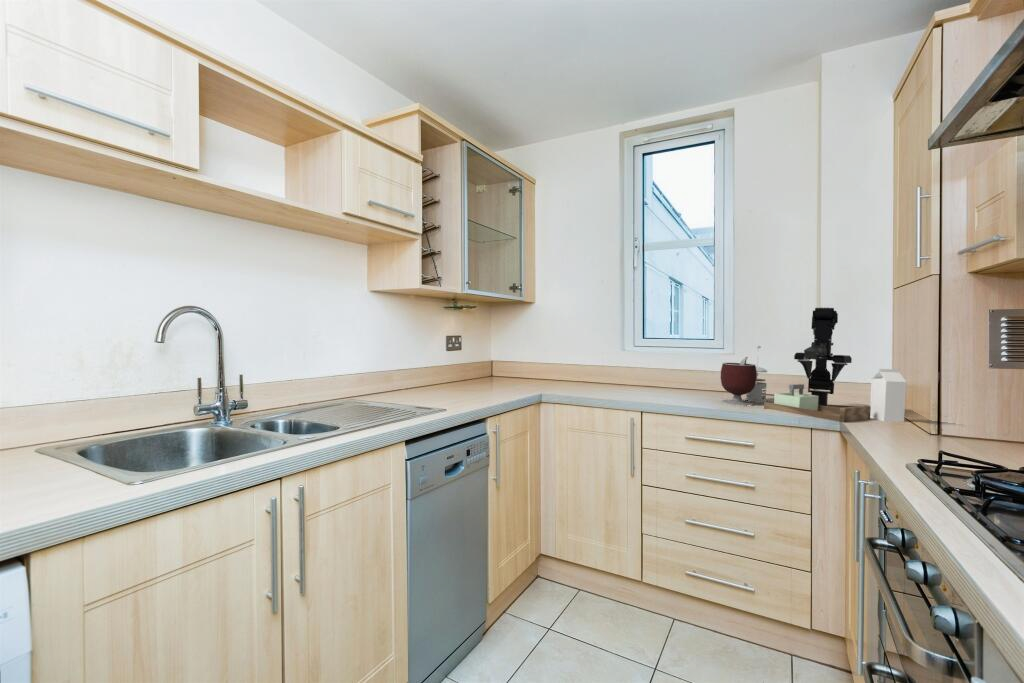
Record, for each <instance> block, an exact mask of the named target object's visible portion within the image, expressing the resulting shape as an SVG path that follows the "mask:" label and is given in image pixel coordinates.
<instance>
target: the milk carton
mask: <svg viewBox="0 0 1024 683" xmlns="http://www.w3.org/2000/svg"><path fill="white" fill-rule="evenodd" d="M906 395H907V381H906V379H905V377H904V376H903V375H902V374H901V373H900V369H897V368H895V369H894V368H892V369H890V368H879V369H878V372H877V373H876V374H875V375H874V376H873V377H872V378H871V383H870V400H869V402H870V403H869V406H871V411H870V419H873V420H878V421H880V422H881V421H882V422H891V423H892V422H894V423H896V422H897V423H898V422H899V423H900V422H901V423H905V411H906V410H905V409H906Z"/></svg>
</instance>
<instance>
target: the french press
mask: <svg viewBox="0 0 1024 683" xmlns="http://www.w3.org/2000/svg"><path fill="white" fill-rule="evenodd" d="M755 348H756V349H757V351H759V349H761V345H759V344H758V345H756V346H755ZM756 359H757V360H756V361H757V362H756V364H757V365H756V372H757V377H756V384H755V387H754V389H753V390H752V391H751V392H749V393H746V394H745V395H746V398H744V399H743V401H745V400H748V401H747V402H750V401H755V402H754V403H760V402H767V401H768V400H767V383H766V379H763V378H758V376H759V373H767V372H768V370H767V369H765V368H763V367H760V366H759V357H757V358H756Z"/></svg>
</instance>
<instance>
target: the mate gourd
mask: <svg viewBox="0 0 1024 683" xmlns="http://www.w3.org/2000/svg"><path fill="white" fill-rule="evenodd" d="M747 360H748V356H745V357H744V358H743V359H742V360H741V361H740V362H722V365H721V368H720V383H721V387H722V388H723V389H724V391H726V392H728V393H730V394H732V395H733V398H732V399H722V400H721V403H722V404H724V403H726V404H725V405H728V404H732V405H731V406H736V405H752V406H754V402H750V401H745V400H743V398H742V396H744V395H746V393H749V392H751V391H752V390H753V389H754V387H755V384H756V378H758V376H757V373H758V372H756V367H757V365H756V364H754V363H747Z"/></svg>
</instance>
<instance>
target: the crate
mask: <svg viewBox="0 0 1024 683" xmlns="http://www.w3.org/2000/svg"><path fill="white" fill-rule="evenodd" d="M788 389H789V392H779V393H777V392H776V393H774V395H773V396H774V399H773V403H774V404H780V405H786V406H792V407H798V408H804V409H810V410H816V411H818V396H815V395H811V394H806V393H804V389H805V384H802V383H798V384H796V383H795V384H793V383H791V384H789V385H788ZM795 390H798V392H795Z"/></svg>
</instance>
